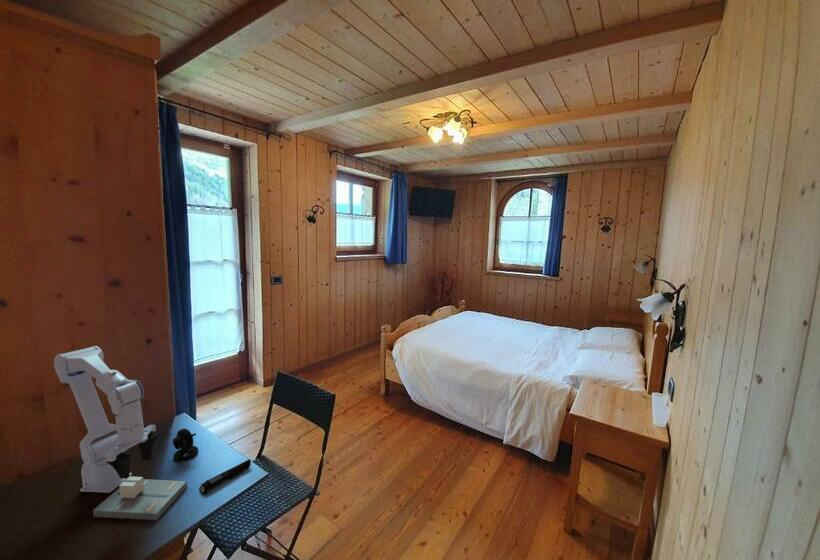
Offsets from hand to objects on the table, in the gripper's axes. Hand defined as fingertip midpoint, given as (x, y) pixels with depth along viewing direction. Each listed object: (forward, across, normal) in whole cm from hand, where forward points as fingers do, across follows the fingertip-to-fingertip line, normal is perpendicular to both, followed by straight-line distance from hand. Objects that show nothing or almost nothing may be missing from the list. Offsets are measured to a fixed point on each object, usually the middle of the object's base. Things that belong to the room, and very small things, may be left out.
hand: (136, 468), depth 95 cm
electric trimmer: (+13, +10, -19) cm, 25 cm away
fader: (+8, 0, +3) cm, 9 cm away
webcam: (+10, +21, +1) cm, 23 cm away
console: (+11, 0, 0) cm, 11 cm away
